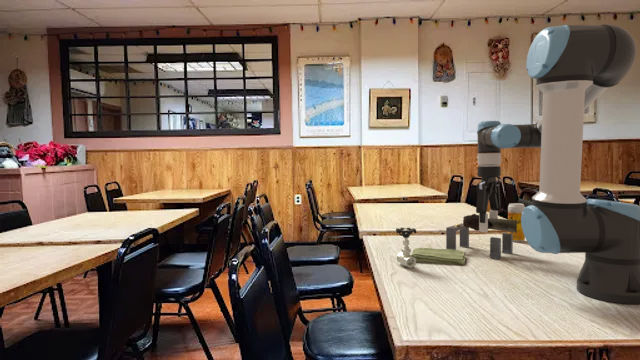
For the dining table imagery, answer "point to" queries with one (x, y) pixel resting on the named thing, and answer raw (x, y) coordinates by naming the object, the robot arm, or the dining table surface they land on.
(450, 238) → the grey upright posts
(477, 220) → the dark green flashlight
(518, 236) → the beer glass
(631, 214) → the robot arm
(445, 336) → the dining table surface
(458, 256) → the washcloth
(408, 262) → the valve
